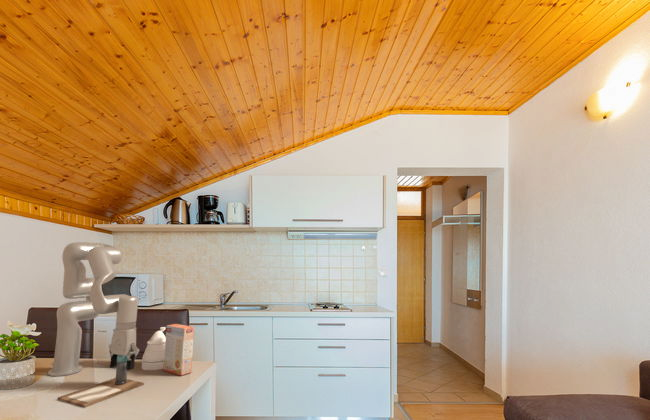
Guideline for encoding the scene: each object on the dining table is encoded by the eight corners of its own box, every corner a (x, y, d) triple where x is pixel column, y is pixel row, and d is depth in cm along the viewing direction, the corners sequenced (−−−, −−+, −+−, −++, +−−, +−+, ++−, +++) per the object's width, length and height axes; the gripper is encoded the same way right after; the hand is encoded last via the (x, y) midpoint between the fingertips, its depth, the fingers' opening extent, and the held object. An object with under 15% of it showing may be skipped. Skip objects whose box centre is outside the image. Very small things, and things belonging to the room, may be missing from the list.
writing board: (57, 399, 127) (57, 396, 127) (117, 378, 149) (118, 376, 149) (84, 407, 121) (85, 404, 121) (143, 384, 143) (143, 382, 143)
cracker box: (192, 372, 158) (195, 326, 161) (180, 376, 153) (183, 328, 156) (174, 367, 165) (177, 322, 168) (162, 370, 160) (165, 324, 163)
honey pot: (162, 360, 176) (165, 324, 179) (175, 365, 168) (177, 327, 171) (136, 366, 166) (140, 328, 169) (148, 372, 158) (151, 332, 161)
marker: (112, 384, 141) (115, 353, 143) (121, 380, 145) (124, 351, 146) (119, 385, 139) (122, 355, 141) (128, 382, 143) (131, 352, 145)
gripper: (103, 325, 145) (99, 367, 143) (132, 329, 138) (127, 373, 136) (120, 322, 152) (116, 362, 150) (147, 326, 145) (144, 368, 143)
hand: (121, 367), depth 143 cm, fingers open, 9 cm apart
